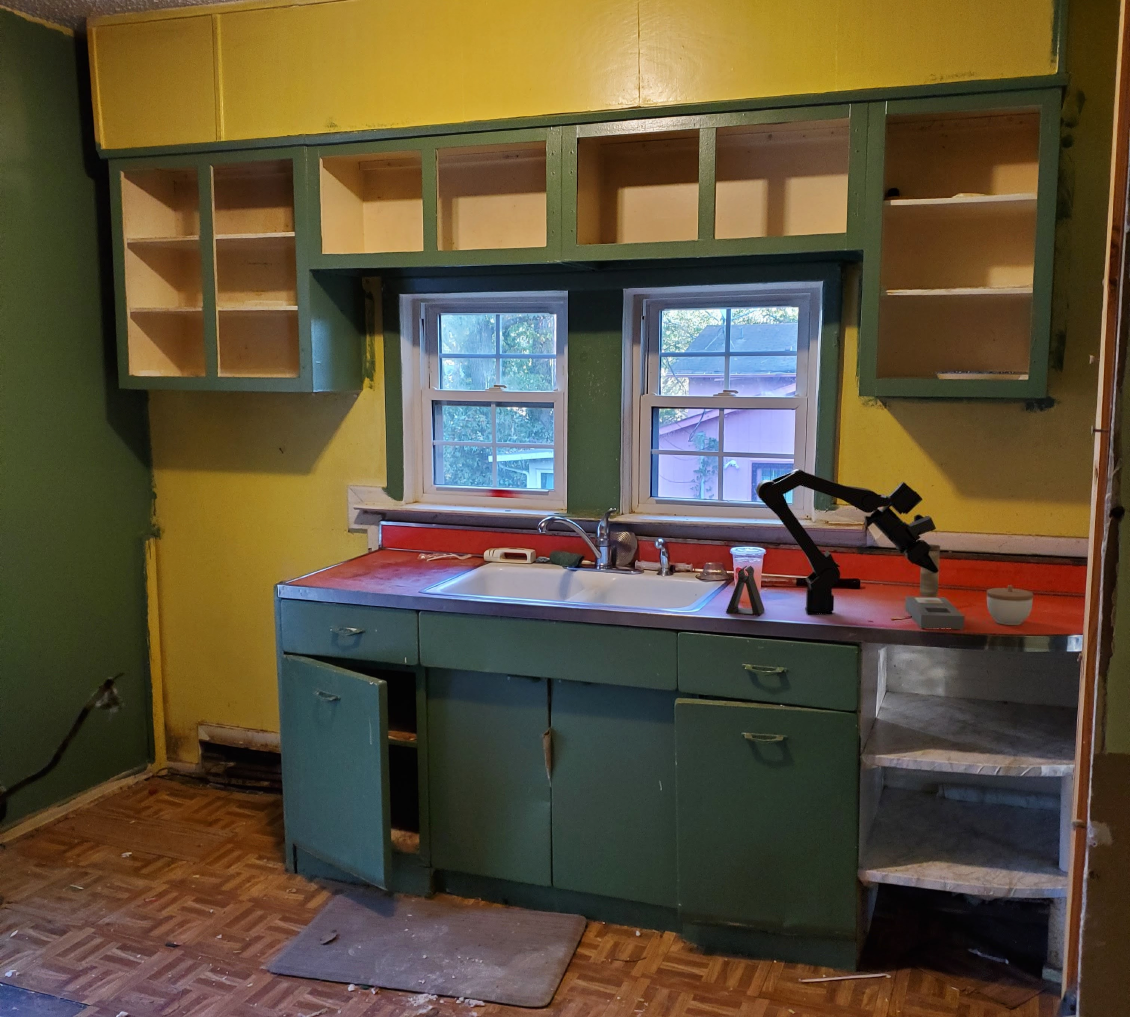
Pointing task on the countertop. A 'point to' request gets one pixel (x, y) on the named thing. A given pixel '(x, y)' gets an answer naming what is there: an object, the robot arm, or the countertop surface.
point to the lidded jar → (1009, 605)
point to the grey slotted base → (934, 612)
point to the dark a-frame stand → (752, 592)
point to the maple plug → (930, 575)
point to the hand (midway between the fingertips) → (935, 570)
